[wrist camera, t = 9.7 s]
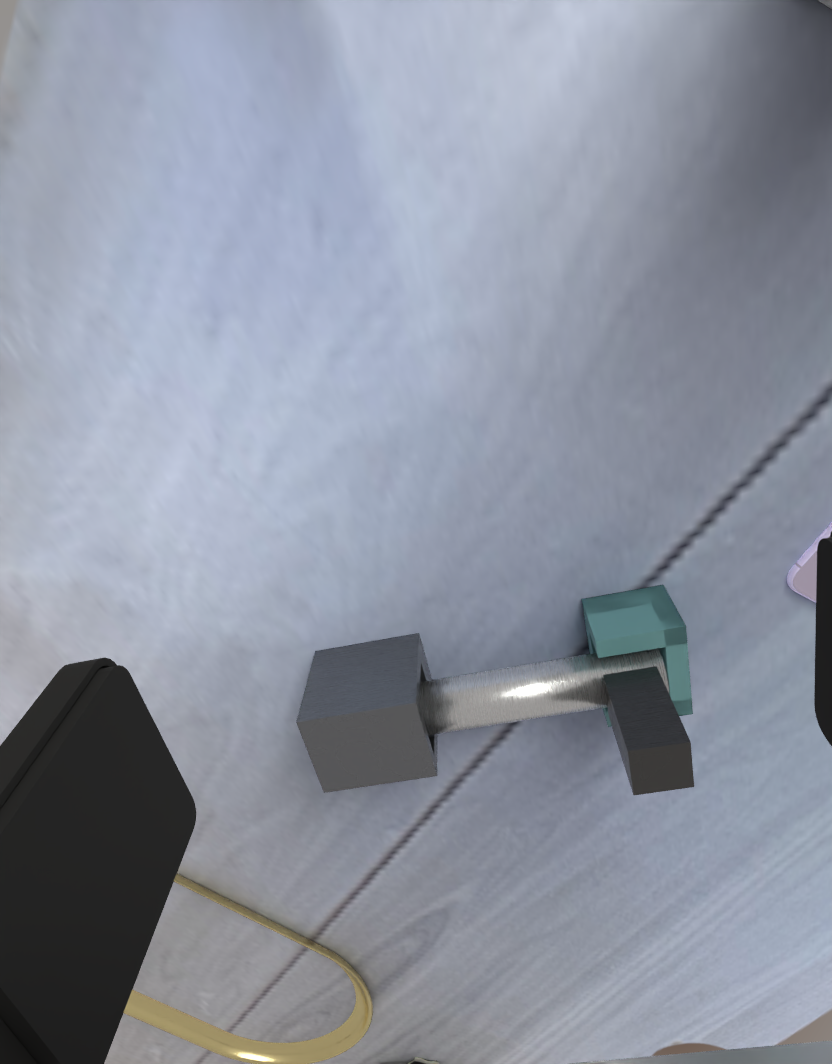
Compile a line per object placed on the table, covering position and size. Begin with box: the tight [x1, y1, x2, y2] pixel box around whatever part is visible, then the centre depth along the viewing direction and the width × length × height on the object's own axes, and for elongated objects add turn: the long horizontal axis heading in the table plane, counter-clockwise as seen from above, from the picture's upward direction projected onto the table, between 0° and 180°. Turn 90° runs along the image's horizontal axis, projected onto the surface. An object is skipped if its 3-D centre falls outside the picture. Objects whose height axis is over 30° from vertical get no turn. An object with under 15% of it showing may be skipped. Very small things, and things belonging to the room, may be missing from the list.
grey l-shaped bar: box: [419, 648, 694, 795], centre depth 40 cm, size 18×3×9 cm, turn 103°
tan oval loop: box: [123, 874, 373, 1064], centre depth 61 cm, size 19×35×2 cm, turn 52°
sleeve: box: [297, 633, 437, 793], centre depth 44 cm, size 7×6×7 cm
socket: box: [582, 585, 693, 727], centre depth 43 cm, size 5×6×4 cm
